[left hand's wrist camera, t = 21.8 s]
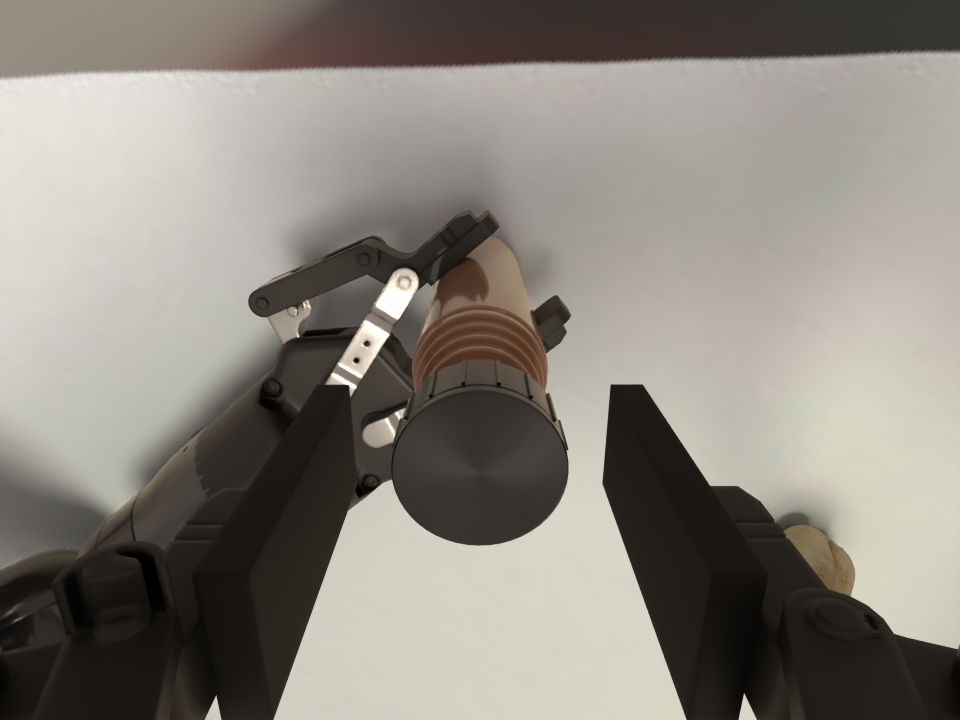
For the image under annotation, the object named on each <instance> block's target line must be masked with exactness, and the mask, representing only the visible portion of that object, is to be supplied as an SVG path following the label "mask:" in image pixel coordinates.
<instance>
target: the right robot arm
mask: <svg viewBox="0 0 960 720" xmlns="http://www.w3.org/2000/svg"><path fill="white" fill-rule="evenodd" d="M498 228H499V223H498V221H497V220H496V219H495V218H494V217H493V215H492V214H491V213H490V212H489V210H487V211H486V212H484V213H483V214H482V215H481V216H479V217H478V218H476V217H475V215H474V214H473V213H472V212H471V211H470V210H469V211H466V212H463V213H460V214H458V215H457V216H455V217H454V218H453V219H452V220H451V221H450V222H449V223H447V224H446V225H445V226H444V227H443V228H442V229H441V230H439V231H438V232H437V233H436V234H435V235H434V236H432V237H431V238H430V239H429V240H428V241H427V242H426V243H424V244H423V245H422V246H421V247H420V248H419V249H417V250H416V251H414V252H412V253H401V252H399V251H397V250H395V249H393V248H391V247H390V246H388V245H386V243H385V242H384V240H383V239H381V238H380V237H378V236H369V237H366V238H364V239H362V240H359V241H357V242H355V243H353V244H350V245H348V246H346V247H343V248H341V249H339V250H337V251H334V252H332V253H330V254H328V255H325V256H323V257H321V258H318V259H316V260H314V261H312V262H309V263H307V264H305V265H303V266H300V267H298V268H296V269H293V270H291V271H289V272H287V273H284V274H282V275H280V276H278V277H275V278H273V279H272V280H270V281H269V282H267V283H265V284H264V285H262V286H261V287H259V288H258V289H257V290H255V291H254V292H252V293H251V295H250V296H249V300H248V303H249V307H250V309H251V310H252V312H253V313H254V314H256V315H258V316H260V317H267V318H268V320H269V322H270V323H271V325H272V327H273V329H274V330H275V332H276V334H277V336H278V337H279V339H280V341H281V343H282V344H283V346H282V347H281V348H280V350H279V352H278V355H277V359H276V362H275V365H274V367H273V368H272V369H271V370H270V371H269V372H268V373H266V374H265V375H264V376H263V377H262V378H261V379H260V380H258V381H257V382H256V383H255V384H254V385H253V386H252V387H250V388H249V389H248V390H247V391H246V392H245V393H244V394H242V395H241V396H240V397H239V398H238V399H237V400H236V401H235V402H233V403H232V404H231V405H230V406H229V407H228V408H227V409H225V410H224V411H223V412H222V413H221V414H220V415H219V416H217V417H216V418H215V419H214V420H213V421H212V422H211V423H209V424H208V425H207V426H205V427H203V428H201V429H200V430H198V431H197V432H196V433H195V434H193V435H192V436H191V438H190V440H189V442H188V443H186V444H185V445H184V446H183V447H182V448H181V449H180V450H178V451H177V452H176V453H175V454H174V455H173V456H172V457H171V458H170V459H169V460H168V461H167V462H166V463H165V464H164V466H163V467H162V468H161V469H160V470H159V471H158V473H157V474H156V475H155V476H154V478H153V479H152V480H151V481H150V482H149V483H148V484H147V485H146V486H145V487H144V488H143V489H142V490H141V491H140V492H139V493H138V494H136V495H135V496H134V497H133V498H132V499H131V500H129V501H128V502H127V503H126V504H125V505H124V506H123V507H121V508H120V509H119V510H118V511H117V512H116V513H115V514H113V515H112V516H111V517H109V518H108V519H107V520H106V521H105V522H104V523H103V524H101V525H100V526H99V527H98V528H97V529H96V530H95V531H94V532H93V533H92V535H91V536H90V537H89V538H88V539H87V541H86V542H85V543H84V545H83V546H82V547H81V549H80V550H76V549H56V550H50V551H46V552H42V553H39V554H36V555H33V556H31V557H28V558H26V559H23V560H21V561H18V562H16V563H14V564H12V565H10V566H7V567H5V568H3V569H1V570H0V645H1V648H2V651H3V652H5V651H9V650H13V649H18V648H22V647H26V646H31V645H35V644H39V643H44V642H48V641H52V640H56V639H59V638H63V637H66V631H65V628H64V625H63V622H62V619H61V615H60V612H59V609H58V606H57V603H56V599H55V596H54V593H53V590H52V587H51V583H52V582H53V580H54V579H55V578H56V577H57V575H58V574H59V573H60V572H61V570H63V569H64V568H65V567H67V566H68V565H69V564H71V563H72V562H74V561H75V560H76V559H78V558H79V557H81V556H84V555H86V554H88V553H90V552H92V551H94V550H96V549H99V548H101V547H105V546H109V545H112V544H116V543H120V542H130V541H144V542H149V543H154V544H156V545H158V546H159V547H160V548H161V549H162V550H163V551H164V550H165V548H166V547H167V546H168V544H169V543H170V542H171V541H172V540H174V539H175V535H176V534H177V533H178V531H179V530H180V529H181V528H182V526H183V525H186V521H187V520H188V518H189V517H190V516H191V515H192V513H193V512H194V511H195V509H196V508H197V507H198V505H199V504H200V503H201V502H203V501H204V500H206V499H207V498H209V497H210V496H212V495H213V494H215V493H216V492H218V491H219V490H221V489H222V488H249V487H250V485H251V484H252V482H253V481H254V479H255V478H256V476H257V475H258V473H259V472H260V470H261V469H262V467H263V466H264V464H265V463H266V461H267V460H268V458H269V457H270V455H271V454H272V452H273V451H274V449H275V448H276V446H277V445H278V443H279V441H280V440H281V438H282V437H283V435H284V434H285V432H286V431H287V429H288V428H289V426H290V425H291V423H292V422H293V420H294V419H295V417H296V416H297V414H298V413H299V411H300V410H301V408H302V407H303V405H304V404H305V402H306V401H307V399H308V398H309V396H310V395H311V393H312V392H313V390H314V389H315V387H316V386H317V385H349V388H350V400H351V412H352V424H353V436H354V448H355V460H356V472H357V486H356V489H355V492H354V495H353V498H352V500H351V503H350V506H349V509H348V510H350V509H351V508H352V507H354V506H355V505H356V504H358V503H359V502H360V501H361V500H363V499H364V498H365V497H367V496H368V495H369V494H370V493H371V492H373V491H374V490H375V489H376V488H377V487H378V486H380V485H381V484H382V483H384V482H386V481H389V480H392V473H391V461H392V455H393V450H394V448H392V444H393V441H394V437H395V434H396V430H397V427H398V423H399V420H400V418H403V414H404V411H405V408H406V405H407V403H408V400H409V397H410V393H411V392H412V391H413V392H415V391H414V386H413V376H412V360H413V359H412V358H410V357H409V356H408V355H407V354H406V352H405V350H404V348H403V346H402V344H401V343H400V341H399V340H398V339H397V338H396V337H395V336H394V335H393V334H392V332H391V331H392V330H393V328H394V326H395V325H396V323H397V321H398V320H399V318H400V316H401V315H402V313H403V312H404V310H405V308H406V307H407V305H408V304H409V302H410V301H411V299H412V297H413V296H414V294H415V293H416V291H418V290H419V289H420V288H421V287H422V286H424V285H425V284H426V283H427V282H428V283H429V284H430V285H431V286H432V285H433V284H434V283H435V282H437V281H438V280H439V279H440V278H441V277H443V276H444V275H445V274H446V273H447V272H448V271H449V270H451V269H452V268H453V267H454V266H456V265H457V264H458V263H459V262H460V261H461V260H463V259H464V258H465V257H466V256H467V255H469V254H470V253H471V252H472V251H473V250H474V249H476V248H477V247H478V246H479V245H480V244H481V243H483V242H484V241H485V240H486V239H487V238H489V237H490V236H491V235H492V234H493V233H494V232H495V231H496V230H497V229H498ZM367 274H368V275H369V276H371V277H373V278H375V279H377V280H379V281H380V282H382V283H384V284H386V285H385V287H384V289H383V290H382V292H381V294H380V295H379V297H378V299H377V300H376V302H375V303H374V305H373V307H372V308H371V310H370V312H369V313H368V315H367V316H366V318H365V320H364V321H363V323H362V325H361V326H360V327H346V328H332V329H318V330H305V327H304V321H305V319H306V318H307V317H308V316H309V315H310V314H311V313H312V312H313V311H314V310H315V308H316V305H317V300H316V297H315V296H318V295H320V294H322V293H325V292H327V291H329V290H332V289H334V288H336V287H339V286H341V285H343V284H346V283H348V282H350V281H353V280H355V279H357V278H360V277H362V276H364V275H367ZM533 313H534V316H535V320H536V323H537V326H538V329H539V333H540V336H541V339H542V342H543V345H544V349H545V352H546V353H547V352H549V350H551V349H553V348H554V347H555V346H557V345H558V344H559V343H560V342H561V341H562V339H563V338H564V336H565V334H566V333H567V331H566V329H565V327H564V324H565V323H566V322H567V321H568V320H569V318H570V316H571V314H570V312H569V310H568V308H567V307H566V305H565V304H564V303H563V302H562V301H561V299H560V298H559V297H558V296H557V295H556V296H553V297H551V298H550V299H548V300H547V301H546V302H545V303H543V304H542V305H541V306H540V307H538V308H537V309H536V310H534V311H533Z"/></svg>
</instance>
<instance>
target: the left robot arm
mask: <svg viewBox="0 0 960 720" xmlns="http://www.w3.org/2000/svg"><path fill="white" fill-rule="evenodd" d="M356 486H357V472H356V460H355V448H354V436H353V424H352V412H351V400H350V388H349V385H317V386H316V387H315V389H314V390H313V392H312V393H311V395H310V396H309V398H308V399H307V401H306V402H305V404H304V405H303V407H302V408H301V410H300V411H299V413H298V414H297V416H296V417H295V419H294V420H293V422H292V423H291V425H290V426H289V428H288V429H287V431H286V432H285V434H284V435H283V437H282V438H281V440H280V441H279V443H278V445H277V446H276V448H275V449H274V451H273V452H272V454H271V455H270V457H269V458H268V460H267V461H266V463H265V464H264V466H263V467H262V469H261V470H260V472H259V473H258V475H257V476H256V478H255V479H254V481H253V482H252V484H251V485H250V487H249V488H222V489H221V490H219V491H218V492H216V493H215V494H213V495H212V496H210V497H209V498H207V499H206V500H204V501H203V502H201V503H200V504H199V505H198V507H197V508H196V509H195V511H194V512H193V513H192V515H191V516H190V517H189V518H188V520H187V521H186V525H183V526H182V528H181V529H180V530H179V531H178V533H177V534H176V535H175V539H174V540H172V541H171V542H170V543H169V544H168V546H167V547H166V548H165V550H164V551H163V550H162V549H161V548H160V547H159V546H158V545H156V544H154V543H149V542H144V541H130V542H120V543H116V544H112V545H109V546H105V547H101V548H99V549H96V550H94V551H92V552H90V553H88V554H86V555H84V556H81V557H79V558H78V559H76V560H75V561H74V562H72V563H71V564H69V565H68V566H67V567H65V568H64V569H63V570H61V572H60V573H59V574H58V575H57V577H56V578H55V579H54V580H53V582H52V583H51V587H52V590H53V593H54V596H55V599H56V603H57V606H58V609H59V612H60V615H61V619H62V622H63V625H64V628H65V631H66V637H63V638H59V639H56V640H52V641H48V642H44V643H39V644H35V645H31V646H26V647H22V648H18V649H13V650H9V651H5V652H3V651H2V648H1V645H0V720H205V718H206V715H207V713H208V711H209V709H210V707H211V705H212V703H213V701H214V699H215V697H216V695H217V700H218V705H219V710H220V715H221V719H222V720H273V719H274V716H275V714H276V711H277V708H278V705H279V702H280V700H281V697H282V694H283V691H284V688H285V686H286V683H287V680H288V677H289V674H290V672H291V669H292V666H293V663H294V660H295V658H296V655H297V652H298V649H299V646H300V643H301V641H302V638H303V635H304V632H305V629H306V627H307V624H308V621H309V618H310V615H311V613H312V610H313V607H314V604H315V601H316V599H317V596H318V593H319V590H320V587H321V585H322V582H323V579H324V576H325V573H326V571H327V568H328V565H329V562H330V559H331V557H332V554H333V551H334V548H335V545H336V542H337V540H338V537H339V534H340V531H341V528H342V526H343V523H344V520H345V517H346V514H347V512H348V509H349V506H350V503H351V500H352V498H353V495H354V492H355V489H356ZM603 486H604V489H605V492H606V495H607V498H608V500H609V503H610V506H611V509H612V512H613V514H614V517H615V520H616V523H617V526H618V528H619V531H620V534H621V537H622V540H623V543H624V545H625V548H626V551H627V554H628V557H629V559H630V562H631V565H632V568H633V571H634V573H635V576H636V579H637V582H638V585H639V587H640V590H641V593H642V596H643V599H644V601H645V604H646V607H647V610H648V613H649V615H650V618H651V621H652V624H653V627H654V629H655V632H656V635H657V638H658V641H659V643H660V646H661V649H662V652H663V655H664V658H665V660H666V663H667V666H668V669H669V672H670V674H671V677H672V680H673V683H674V686H675V688H676V691H677V694H678V697H679V700H680V702H681V705H682V708H683V711H684V714H685V716H686V719H687V720H738V719H739V715H740V710H741V705H742V700H743V695H744V694H745V696H746V698H747V700H748V702H749V704H750V706H751V708H752V710H753V712H754V714H755V717H756V719H757V720H960V645H959V648H958V649H954V648H949V647H945V646H941V645H936V644H932V643H928V642H923V641H919V640H915V639H910V638H906V637H903V636H899V635H896V634H894V633H893V632H892V630H891V629H890V627H889V626H888V625H887V623H886V622H885V620H884V619H883V618H882V617H881V616H880V615H878V614H877V613H876V612H875V611H873V610H872V609H871V608H870V607H869V606H867V605H866V604H864V603H862V602H860V601H858V600H856V599H854V598H852V597H850V596H848V595H846V594H843V593H839V592H836V591H833V590H829V589H828V588H827V587H826V586H825V584H824V583H823V582H822V580H821V579H820V578H819V577H818V575H817V574H816V573H815V571H814V570H813V569H812V568H811V566H810V565H809V564H808V562H807V561H806V560H805V559H804V557H803V556H802V555H801V553H800V552H799V551H798V549H797V548H796V547H795V546H794V544H793V543H792V542H791V540H790V539H789V538H786V534H785V533H784V531H783V530H782V529H781V528H780V526H779V525H778V524H777V523H775V522H774V519H773V517H772V516H771V515H770V513H769V512H768V511H767V510H766V508H765V507H764V506H763V504H762V503H761V502H760V501H759V500H757V499H756V498H754V497H753V496H751V495H750V494H748V493H747V492H745V491H744V490H743V489H741V488H740V487H738V486H710V485H709V484H708V482H707V481H706V479H705V478H704V476H703V475H702V473H701V472H700V470H699V469H698V467H697V466H696V464H695V463H694V461H693V460H692V458H691V457H690V455H689V454H688V452H687V451H686V449H685V448H684V446H683V445H682V443H681V442H680V440H679V438H678V437H677V435H676V434H675V432H674V431H673V429H672V428H671V426H670V425H669V423H668V422H667V420H666V419H665V417H664V416H663V414H662V413H661V411H660V410H659V408H658V407H657V405H656V404H655V402H654V401H653V399H652V398H651V396H650V395H649V393H648V392H647V390H646V389H645V387H644V386H643V385H611V388H610V400H609V412H608V424H607V436H606V448H605V460H604V472H603Z"/></svg>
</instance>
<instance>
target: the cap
mask: <svg viewBox="0 0 960 720" xmlns="http://www.w3.org/2000/svg"><path fill="white" fill-rule="evenodd" d="M392 448H394V450H393V455H392V461H391V473H392V481H393V485H394V489H395V492H396V494H397V496H398V498H399V501H400V502H401V504H402V505H403V507H404V509H405V510H406V511H407V512H408V514H409V515H410V516H411V517H412V518H413V519H414V520H415V521H416V522H417V523H418V524H419V525H421V526H422V527H423V528H425V529H426V530H427V531H429V532H431V533H433V534H435V535H436V536H439V537H441V538H443V539H446V540H449V541H452V542H456V543H460V544H466V545H478V546H479V545H493V544H500V543H504V542H508V541H511V540H514V539H516V538H519V537H521V536H523V535H525V534H527V533H529V532H531V531H532V530H534V529H535V528H536V527H538V526H539V525H540V524H542V523H543V522H544V521H545V520H546V519H547V518H548V517H549V516H550V515H551V513H552V512H553V511H554V510H555V508H556V507H557V505H558V503H559V502H560V500H561V498H562V496H563V493H564V491H565V487H566V484H567V479H568V457H567V451H566V450H568V446H567V442H566V439H565V435H564V432H563V428H562V425H561V421H560V420H558V419H557V415H556V412H555V409H554V406H553V403H552V399H551V395H550V394H549V393H548V394H546V392H545V391H544V389H543V388H542V387H541V386H540V385H539V384H538V383H537V382H536V381H535V380H534V379H532V378H531V377H530V376H529V373H528V372H526V373H524V372H522V371H521V370H518V369H516V368H514V367H512V366H509V365H506V364H503V363H499V360H496V361H495V362H494V361H484V360H476V361H466V360H463V362H460V363H457V364H454V365H450V366H448V367H445V368H443V369H441V370H439V371H438V372H436V371H434V372H432V375H431V376H430V377H429V378H427V379H426V380H425V381H424V382H423V383H422V384H421V385H420V386H419V387H418V388H417V389H416V390H415V392H413V391H412V392H411V393H410V397H409V400H408V403H407V405H406V408H405V411H404V414H403V418H400V420H399V423H398V427H397V430H396V434H395V437H394V441H393V444H392Z"/></svg>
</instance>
